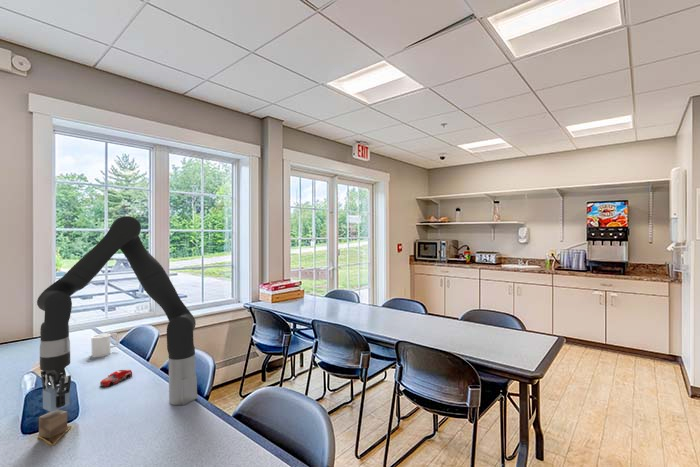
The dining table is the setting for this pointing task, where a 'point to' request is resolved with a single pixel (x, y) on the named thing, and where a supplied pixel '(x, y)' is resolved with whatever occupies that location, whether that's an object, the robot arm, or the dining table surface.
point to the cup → (102, 344)
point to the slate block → (52, 399)
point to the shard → (54, 439)
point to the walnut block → (52, 423)
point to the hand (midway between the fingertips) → (56, 404)
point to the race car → (116, 377)
